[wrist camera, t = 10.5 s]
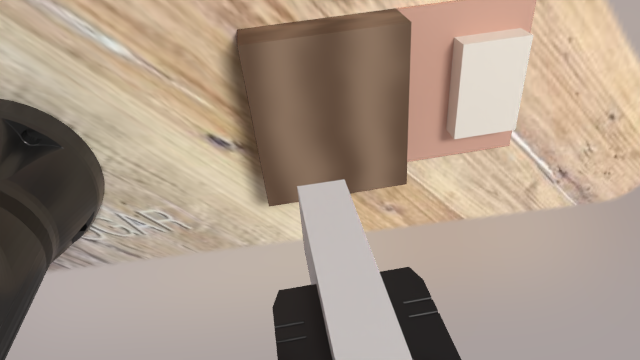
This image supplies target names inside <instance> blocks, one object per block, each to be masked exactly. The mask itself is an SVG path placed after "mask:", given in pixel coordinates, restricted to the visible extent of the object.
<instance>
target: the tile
mask: <svg viewBox="0 0 640 360" xmlns="http://www.w3.org/2000/svg"><path fill="white" fill-rule="evenodd" d="M532 39H533V34H531V33H529V32H527V31H526V30H524V29H522V28H517V29H510V30H502V31H495V32H488V33H481V34H474V35H467V36H460V37H454V45H453V57H452V68H451V80H450V91H449V102H448V114H447V125H446V130H447V131H448V132H449V133H450V135H451V136H452V137H453V138H454V139H460V138H466V137H472V136H479V135H485V134H491V133H498V132H504V131H511V130H515V129H516V123H517V118H518V113H519V107H520V102H521V97H522V92H523V86H524V81H525V76H526V71H527V65H528V60H529V55H530V50H531V44H532Z"/></svg>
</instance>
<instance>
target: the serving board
mask: <svg viewBox="0 0 640 360" xmlns="http://www.w3.org/2000/svg"><path fill="white" fill-rule="evenodd" d="M237 46H238V52H239V57H240V62H241V67H242V72H243V77H244V82H245V87H246V92H247V97H248V102H249V107H250V112H251V117H252V122H253V127H254V132H255V137H256V142H257V147H258V152H259V158H260V163H261V168H262V173H263V178H264V183H265V188H266V193H267V198H268V203H269V206H275V205H281V204H287V203H293V202H299V197H298V189H297V186H303V185H310V184H316V183H323V182H330V181H336V180H343V179H345V182H346V185H347V187H348V190H349V192H350V193H355V192H361V191H367V190H373V189H379V188H385V187H392V186H398V185H404V184H406V182H407V150H408V118H409V86H410V54H411V21H410V20H409V19H407V18H406V17H405V16H404V15H403V14H402V13H401V12H399V11H398V10H397V9H389V10H382V11H374V12H367V13H359V14H352V15H344V16H337V17H329V18H322V19H314V20H307V21H299V22H292V23H284V24H277V25H269V26H262V27H254V28H247V29H239V30H237Z"/></svg>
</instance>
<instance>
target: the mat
mask: <svg viewBox="0 0 640 360" xmlns="http://www.w3.org/2000/svg"><path fill="white" fill-rule="evenodd" d="M535 5H536V0H456V1H449V2H441V3H434V4H426V5H419V6H411V7H404V8H396V9H397V10H398V11H399V12H401V13H402V14H403V15H404V16H405V17H406V18H407V19H409V20H410V21H411V54H410V86H409V118H408V150H407V162H409V161H415V160H421V159H428V158H434V157H440V156H447V155H453V154H459V153H465V152H472V151H478V150H484V149H491V148H497V147H503V146H509V144H510V139H511V133H512V130H511V131H504V132H498V133H491V134H485V135H479V136H472V137H466V138H460V139H454V138H453V137H452V136H451V135H450V133H449V132H448V131H447V130H446V125H447V114H448V102H449V91H450V80H451V68H452V57H453V45H454V37H460V36H467V35H474V34H481V33H488V32H495V31H502V30H510V29H517V28H522V29H524V30H526V31H527V32H529V33H530V31H531V26H532V21H533V15H534V10H535Z"/></svg>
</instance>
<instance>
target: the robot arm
mask: <svg viewBox="0 0 640 360" xmlns="http://www.w3.org/2000/svg"><path fill="white" fill-rule="evenodd" d="M297 189H298V197H299V206H300V215H301V224H302V233H303V241H304V250H305V255H306V260H307V265H308V270H309V275H310V280H311V285H307V286H302V287H296V288H291V289H284V290H279V292H278V294H277V297H276V300H275V303H274V305H273V316H274V326H275V336H276V345H277V356H278V360H461V358H460V356H459V354H458V352H457V350H456V348H455V346H454V343H453V341H452V339H451V337H450V335H449V333H448V331H447V329H446V327H445V324H444V322H443V320H442V319H441V316H440V314H439V313H438V310H437V308H436V306H435V304H434V302H433V300H432V299H431V296H430V293H429V291H428V289H427V287H426V285H425V283H424V280H423V279H422V278H421V277H420V276H418V275H417V274H416V273H415V272H414V271H413V270H412V269H411V268H409V267H405V268H399V269H394V270H388V271H383V272H379V269H378V267H377V264H376V262H375V259H374V256H373V254H372V251H371V248H370V246H369V243H368V240H367V238H366V235H365V232H364V230H363V227H362V224H361V222H360V219H359V216H358V214H357V211H356V208H355V206H354V203H353V200H352V198H351V195H350V192H349V190H348V187H347V185H346V182H345V179H343V180H336V181H330V182H323V183H316V184H310V185H303V186H297ZM103 196H104V178H103V173H102V170H101V167H100V165H99V162H98V160H97V158H96V157H95V155H94V153H93V152H92V151H91V149H90V148H89V147H88V145H87V144H86V143H85V142H84V141H83V140H82V139H81V138H80V137H79V136H78V135H77V134H76V133H75V132H74V131H73V130H72V129H70V128H69V127H68V126H66V125H65V124H64V123H62V122H61V121H59V120H57V119H56V118H54V117H52V116H50V115H49V114H47V113H45V112H42V111H40V110H38V109H36V108H33V107H30V106H27V105H24V104H21V103H17V102H14V101H9V100H3V99H0V360H5V358H6V356H7V354H8V352H9V350H10V348H11V346H12V343H13V341H14V339H15V337H16V335H17V333H18V331H19V329H20V327H21V324H22V322H23V320H24V318H25V316H26V314H27V312H28V310H29V308H30V305H31V303H32V301H33V299H34V297H35V295H36V293H37V291H38V288H39V286H40V284H41V282H42V280H43V278H44V275H45V273H46V271H47V269H48V267H49V265H50V264H51V263H52V262H53V261H54V260H55V259H56V258H58V257H59V256H60V255H61V254H62V253H63V252H64V251H65V250H67V249H68V248H69V247H70V246H71V244H72V243H74V242H75V241H77V240H78V239H79V238H80V237H81V236H82V235H83V234H84V233H85V232H86V231H87V230H88V229H89V227H90V226H91V225H92V223H93V221H94V220H95V217H96V215H97V213H98V210H99V208H100V206H101V203H102V200H103Z"/></svg>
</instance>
